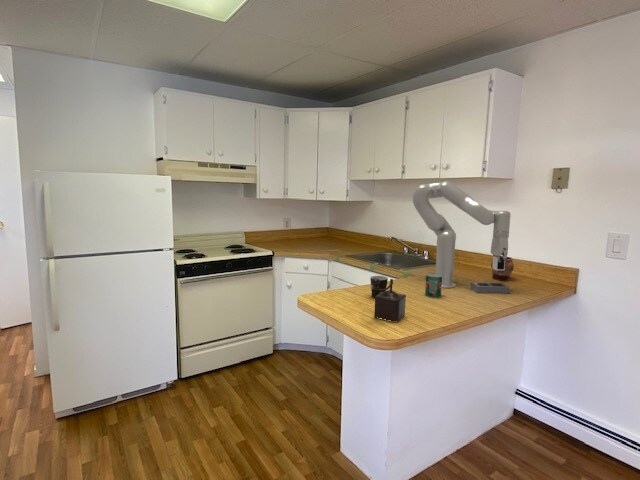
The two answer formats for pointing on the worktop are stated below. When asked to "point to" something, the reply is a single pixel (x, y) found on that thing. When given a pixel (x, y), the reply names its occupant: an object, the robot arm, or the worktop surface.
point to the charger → (496, 263)
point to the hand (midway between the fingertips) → (498, 267)
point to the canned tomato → (433, 285)
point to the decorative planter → (503, 273)
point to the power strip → (490, 287)
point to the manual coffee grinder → (388, 302)
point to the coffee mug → (381, 286)
